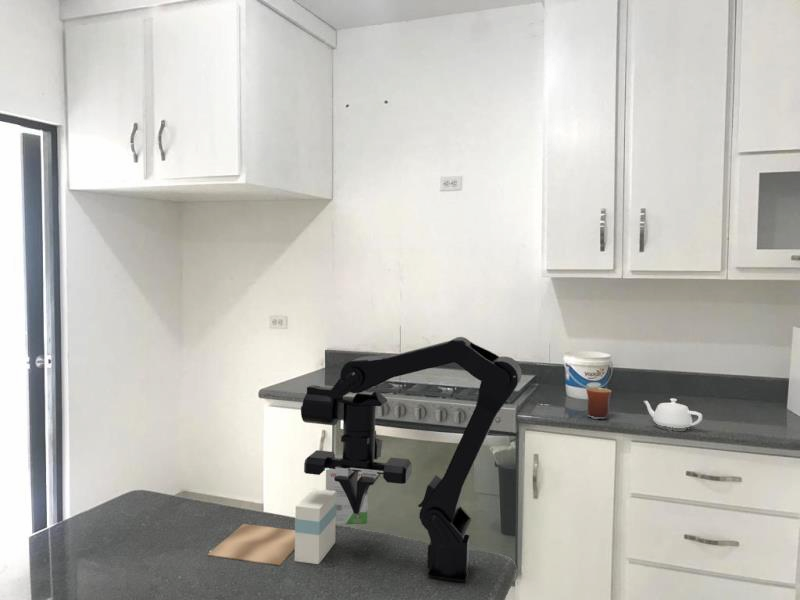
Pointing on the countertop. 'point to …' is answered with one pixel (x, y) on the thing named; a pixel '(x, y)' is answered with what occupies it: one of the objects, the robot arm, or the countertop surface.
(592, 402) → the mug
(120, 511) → the countertop surface
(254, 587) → the countertop surface
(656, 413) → the teapot
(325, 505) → the carton
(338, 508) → the ink box
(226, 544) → the board
